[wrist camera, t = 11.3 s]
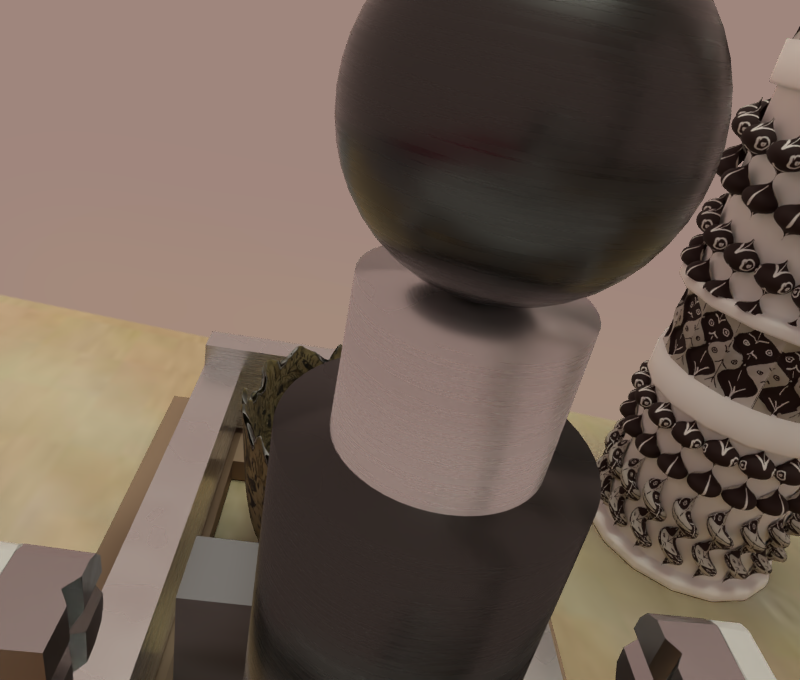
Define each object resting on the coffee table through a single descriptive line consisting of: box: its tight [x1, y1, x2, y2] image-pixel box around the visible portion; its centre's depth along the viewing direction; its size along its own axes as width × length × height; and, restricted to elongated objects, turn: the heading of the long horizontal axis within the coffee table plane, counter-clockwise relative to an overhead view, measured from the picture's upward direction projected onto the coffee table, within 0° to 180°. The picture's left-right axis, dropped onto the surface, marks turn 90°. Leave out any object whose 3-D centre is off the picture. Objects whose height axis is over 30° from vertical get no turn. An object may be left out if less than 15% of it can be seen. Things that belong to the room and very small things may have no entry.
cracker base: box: [96, 396, 566, 680], centre depth 21 cm, size 16×22×6 cm
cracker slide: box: [73, 0, 733, 680], centre depth 17 cm, size 12×21×19 cm, turn 1°
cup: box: [241, 345, 342, 540], centre depth 23 cm, size 8×7×8 cm
